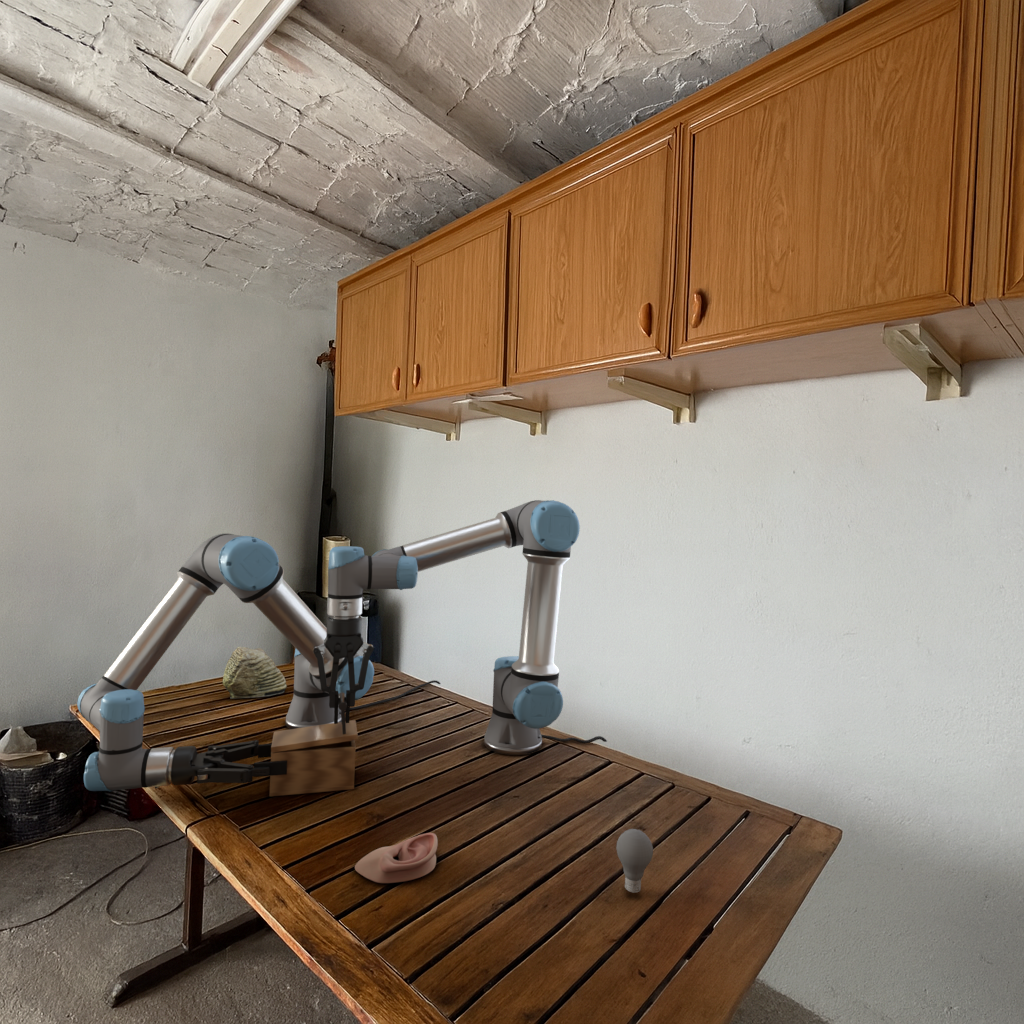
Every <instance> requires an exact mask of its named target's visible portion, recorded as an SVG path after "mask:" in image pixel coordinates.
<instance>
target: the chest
mask: <svg viewBox="0 0 1024 1024" xmlns="http://www.w3.org/2000/svg"><path fill="white" fill-rule="evenodd" d="M285 760H287V774H286V775H273V776H269V796H268V797H279V796H292V795H302V794H315V793H324V792H336V791H337V792H338V791H348V790H354V789H355V773H356V772H355V769H356V740H352V741H346V742H339V743H333V744H326V745H320V746H313V747H307V748H300V749H294V750H287V751H281V752H274V753H271V757H270V761H285Z"/></svg>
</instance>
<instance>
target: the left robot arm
mask: <svg viewBox="0 0 1024 1024" xmlns="http://www.w3.org/2000/svg"><path fill="white" fill-rule="evenodd" d="M284 573H285V569H284V568H283V567H282V566H281V564H280V560H279V556H278V553H277V551H276V550H275V548H274V547H273V546H272V545H271V544H270V543H268V542H267V541H265V540H263V539H261V538H258V537H255V536H251V535H241V534H240V535H239V534H233V533H218V534H215V535H212V536H211V537H209V538H207V539H206V540H204V541H203V542H202V543H201V544H200V545H199V546H197V548H196V549H195V550H194V551H193V552H192V553H191V555H190V556H189V557H188V558H187V560H186V561H185V562H184V563H183V564H182V566H181V567H180V568H179V570H178V571H177V572H176V575H177V579H176V581H175V582H174V584H173V585H172V586H171V587H170V588H169V590H168V592H167V593H166V594H165V595H164V597H163V598H162V599H161V601H160V602H159V603H158V604H157V605H156V606H155V608H154V609H153V611H152V612H151V613H150V615H148V617H147V618H146V620H145V621H144V623H142V625H141V626H140V628H139V629H137V631H136V633H135V634H134V635H133V637H132V638H131V639H130V641H129V642H128V643H127V644H126V646H125V647H124V648H123V649H122V651H121V652H120V653H119V655H118V656H117V657H116V658H115V660H114V661H113V662H112V664H111V665H110V666H109V668H108V669H107V670H106V672H105V673H103V675H102V677H101V678H100V679H99V680H98V682H97V683H93V684H91V685H89V686H87V687H86V688H84V689H83V690H82V691H81V692H80V694H79V695H78V698H77V703H76V705H77V709H78V711H79V713H80V715H81V716H82V718H83V719H85V721H87V722H89V723H90V724H91V725H92V726H93V727H95V729H97V730H98V731H99V748H98V751H94V752H92V753H91V754H90V755H88V758H87V760H86V762H85V766H84V773H83V783H84V787H85V788H86V790H88V791H90V792H114V791H123V790H134V789H142V788H143V789H146V788H147V789H148V788H155V789H156V790H157V789H159V788H161V787H169V786H171V784H172V785H173V786H186V785H191V784H193V783H194V780H195V779H196V784H198V785H199V784H200V785H201V784H208V783H211V784H212V783H215V784H217V783H218V784H247V783H249V784H250V783H252V782H253V779H254V778H257V777H270V776H273V775H286V774H287V760H285V761H271V760H270V761H258V762H254V763H253V764H247V763H238V762H239V761H243V760H246V759H250V758H254V757H255V758H256V757H257V759H263V758H271V745H272V743H262V744H261V743H260V741H259V740H258V739H255V740H249V741H242V742H235V743H229V744H222V745H208V746H207V751H204V752H200V753H198V750H197V747H196V746H195V745H185V746H177V747H173V746H165V747H152V748H143V744H144V743H143V741H144V719H145V710H146V708H145V707H146V706H145V699H144V698H145V697H144V694H143V692H142V691H140V690H138V689H139V688H140V686H141V685H142V684H143V682H144V681H145V680H146V678H147V677H148V676H149V674H150V673H151V672H152V671H153V669H154V667H156V665H157V664H158V662H159V661H160V660H161V659H162V657H163V656H164V655H165V653H166V651H167V650H168V649H169V648H170V646H171V645H172V644H173V642H174V641H175V640H176V638H177V637H178V636H179V634H180V633H181V632H182V631H183V629H184V628H185V627H186V625H187V624H188V623H189V621H190V620H191V618H192V617H193V616H194V615H195V614H196V612H197V610H198V609H199V608H200V606H201V605H202V603H203V602H204V601H205V600H206V599H207V597H209V596H214V595H215V594H216V592H217V591H218V589H220V587H221V586H222V585H225V586H226V587H227V588H228V589H229V590H230V591H231V592H232V593H233V594H235V596H236V598H238V599H239V600H240V601H241V602H242V603H244V604H253V605H254V606H255V607H256V608H257V609H258V610H259V611H260V612H261V613H262V614H263V616H265V617H266V619H267V620H268V621H269V622H271V624H272V625H273V626H274V627H275V628H276V629H277V630H278V631H279V632H280V633H281V634H282V635H283V636H284V638H286V640H287V641H288V642H289V643H290V644H291V645H292V646H293V647H294V649H295V650H294V655H293V657H294V672H293V673H294V674H293V695H292V696H293V697H292V699H291V702H290V704H289V708H288V711H287V713H286V715H285V726H286V728H287V729H288V730H289V729H296V728H303V727H310V726H317V725H324V724H331V723H334V708H330V707H329V693H328V692H323V691H322V690H321V684H320V676H319V669H318V661H317V658H316V656H315V654H314V652H313V648H314V646H319V645H321V644H323V643H324V640H325V638H326V635H327V626H326V625H324V623H323V622H322V621H321V620H320V619H319V618H318V617H317V616H316V615H315V613H314V612H313V611H312V610H311V609H310V608H309V606H308V605H307V604H306V603H305V601H303V599H301V597H300V596H299V595H298V594H297V593H296V592H295V590H294V589H293V588H292V587H291V586H290V585H289V583H288V582H286V580H285V579H284ZM324 651H325V653H324V654H323V660H324V668H325V675H326V683H327V685H330V680H331V672H332V664H333V656H332V655H331V654H330V652H329V651H328V650H327V648H325V649H324ZM353 657H354V674H355V684H356V683H358V680H359V675H360V669H361V664H362V658H363V655H359V654H358V652H357V653H356V654H355V656H353ZM374 676H375V667H374V664H373V662H372V661H371V660H370V659H369V662H368V668H367V673H366V679H365V684H364V688H363V689H362V690H358V691H356V693H355V701H357V700H359V699H361V698H362V697H363V696H365V695H366V693H367V692H368V691H369V690H370V689H371V688H372V687H371V686H372V685H373V682H374ZM434 683H436V684H437V685H441V682H440V681H439V680H436V679H435V680H430V681H427V682H424V683H422V684H419V685H417V686H415V687H413V688H411V689H409V690H406V691H405V692H402V693H401V694H399V695H395V696H393V697H390V698H386V699H382V700H378V701H374V702H371V703H367V704H362V705H357V706H354V707H350V711H351V710H352V711H353V710H359V709H364V708H367V707H372V706H376V705H379V704H383V703H387V702H391V701H394V700H396V699H400V698H401V697H402V698H403V697H404V696H405V695H408V694H409V693H412V692H414V691H416V690H417V689H419V688H422V687H425V686H427V685H430V684H434ZM346 690H350V687H349V672H348V659H347V658H341V659H339V666H338V674H337V682H336V690H335V691H338V693H341V692H343V693H345V694H346ZM345 711H346V709H345ZM338 722H342V720H341V710H340V709H339V706H338ZM259 743H260V744H259Z"/></svg>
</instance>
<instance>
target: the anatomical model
mask: <svg viewBox="0 0 1024 1024" xmlns="http://www.w3.org/2000/svg"><path fill="white" fill-rule="evenodd" d="M438 844H439V841H438V837H437V834H436V833H435V832H426V833H421V834H419V835H415V836H412V837H410V838H408V839H405V840H403V841H400V842H399V843H396V844H394V845H389V846H388V845H387V846H382V847H378V848H377V849H376V848H375V849H374V850H372V851H370V852H369V853H368V854H366V855H364V856H363V857H362V858H360V860H358V861H357V862H356V864H355V865H354V870H355V871H356V873H358V874H360V875H361V876H363V877H364V878H365V879H367V880H370V881H372V882H374V883H377V884H394V883H402V882H408V881H412V880H416V879H419V878H421V877H424V876H426V875H428V874H430V873H431V872H432V871H433V870H434V869H435V867H436V865H437V855H436V852H437V850H438V846H439V845H438Z"/></svg>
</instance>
